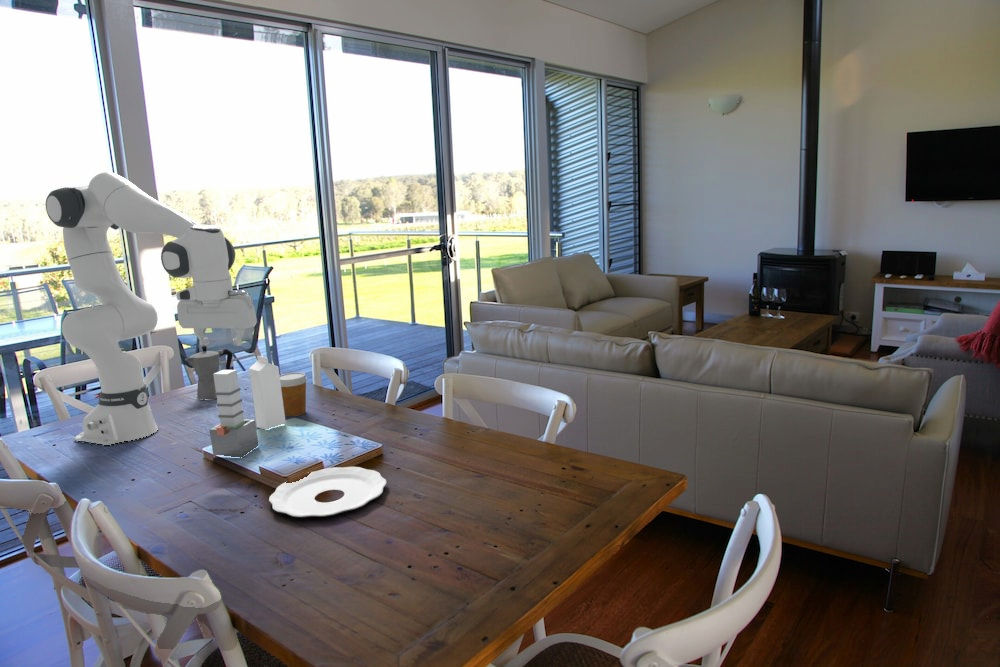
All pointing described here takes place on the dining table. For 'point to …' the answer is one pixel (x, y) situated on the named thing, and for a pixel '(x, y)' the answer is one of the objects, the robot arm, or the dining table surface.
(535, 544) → the dining table surface
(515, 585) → the dining table surface
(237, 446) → the stand
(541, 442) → the dining table surface
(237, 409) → the column
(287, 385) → the disposable coffee cup
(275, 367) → the milk
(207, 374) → the coffeepot
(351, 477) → the plate
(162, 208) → the robot arm
